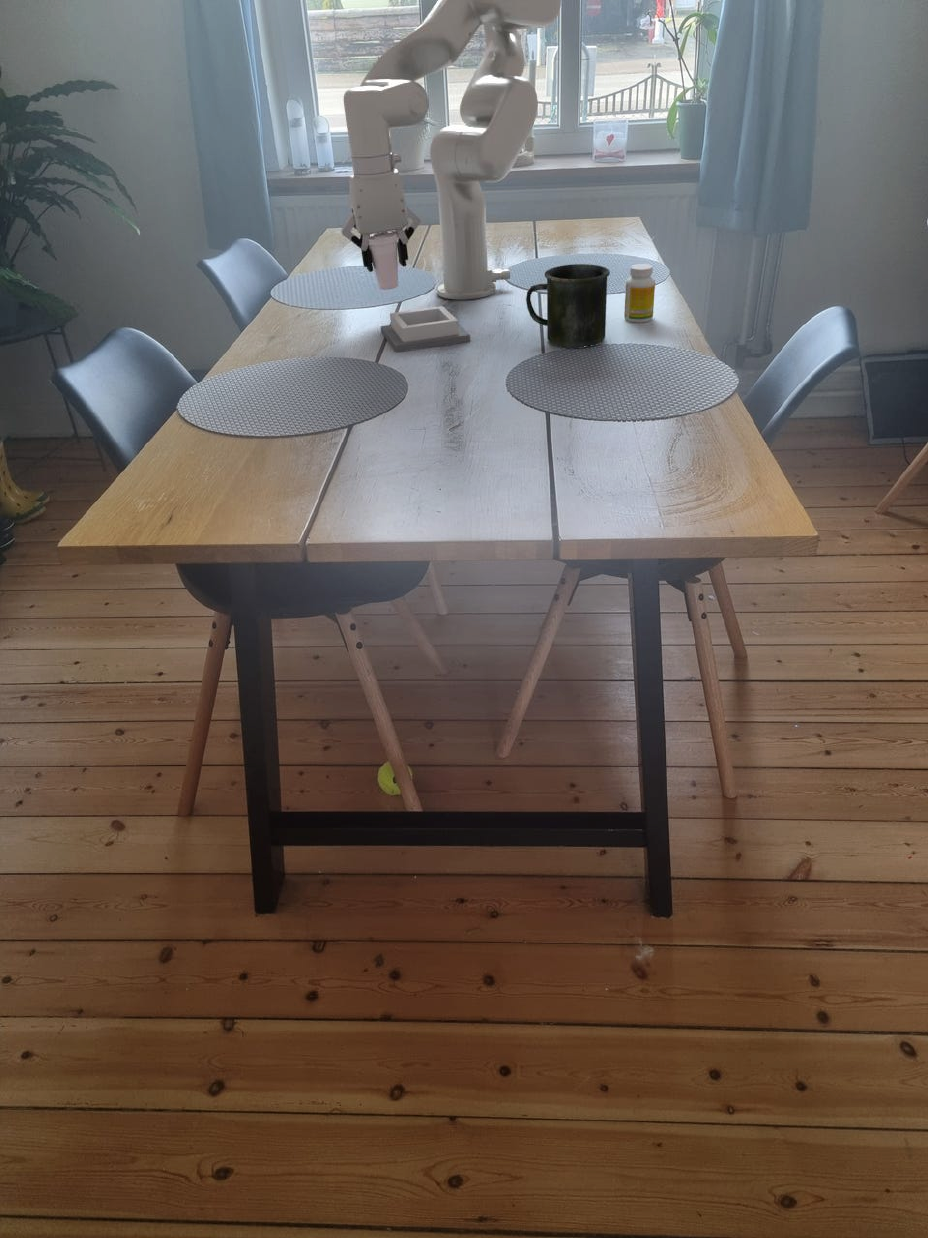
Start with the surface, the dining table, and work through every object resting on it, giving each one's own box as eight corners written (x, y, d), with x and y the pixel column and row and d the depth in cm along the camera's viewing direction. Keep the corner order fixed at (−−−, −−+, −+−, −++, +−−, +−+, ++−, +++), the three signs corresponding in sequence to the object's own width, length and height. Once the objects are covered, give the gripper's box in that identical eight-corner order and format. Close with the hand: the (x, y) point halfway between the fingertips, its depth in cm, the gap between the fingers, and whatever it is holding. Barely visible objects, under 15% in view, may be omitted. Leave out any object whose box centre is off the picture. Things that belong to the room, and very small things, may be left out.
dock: (451, 322, 176) (449, 302, 174) (470, 341, 166) (469, 320, 164) (381, 332, 174) (379, 312, 172) (396, 352, 163) (394, 331, 161)
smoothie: (410, 281, 179) (399, 205, 170) (397, 291, 174) (386, 214, 166) (380, 281, 181) (368, 206, 172) (367, 292, 176) (354, 215, 168)
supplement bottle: (618, 318, 173) (620, 265, 167) (641, 313, 175) (644, 261, 169) (635, 324, 169) (638, 271, 163) (658, 319, 171) (662, 266, 165)
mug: (607, 350, 158) (609, 279, 151) (523, 350, 160) (522, 280, 153) (608, 331, 167) (610, 263, 160) (529, 331, 169) (528, 264, 162)
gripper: (413, 155, 169) (424, 255, 180) (323, 168, 166) (339, 269, 177) (424, 161, 163) (434, 264, 174) (330, 175, 160) (346, 279, 171)
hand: (386, 266), depth 175 cm, fingers closed on smoothie, 5 cm apart
